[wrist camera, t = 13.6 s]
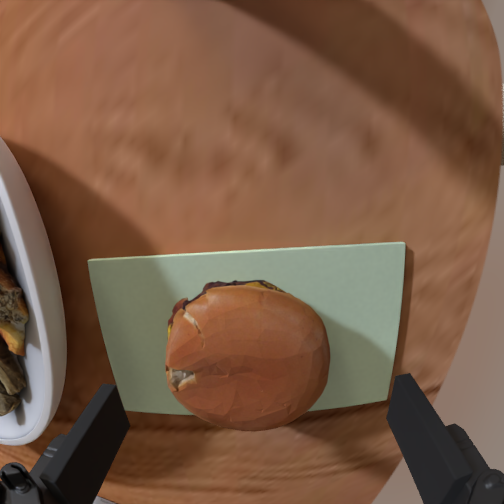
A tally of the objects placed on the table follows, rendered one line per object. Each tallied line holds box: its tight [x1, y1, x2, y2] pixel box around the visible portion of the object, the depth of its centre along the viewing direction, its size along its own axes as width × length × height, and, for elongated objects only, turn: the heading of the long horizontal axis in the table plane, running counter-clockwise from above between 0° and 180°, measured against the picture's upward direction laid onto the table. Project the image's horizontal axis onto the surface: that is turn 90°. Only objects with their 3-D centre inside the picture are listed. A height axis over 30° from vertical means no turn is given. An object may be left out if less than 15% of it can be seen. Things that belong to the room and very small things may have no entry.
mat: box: [87, 242, 406, 415], centre depth 20 cm, size 20×12×1 cm, turn 93°
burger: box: [165, 280, 330, 431], centre depth 17 cm, size 10×9×5 cm
